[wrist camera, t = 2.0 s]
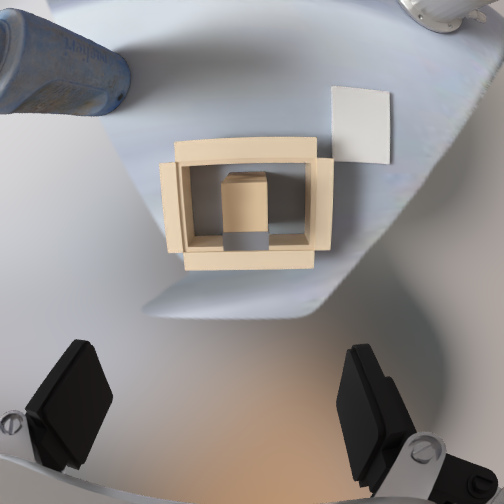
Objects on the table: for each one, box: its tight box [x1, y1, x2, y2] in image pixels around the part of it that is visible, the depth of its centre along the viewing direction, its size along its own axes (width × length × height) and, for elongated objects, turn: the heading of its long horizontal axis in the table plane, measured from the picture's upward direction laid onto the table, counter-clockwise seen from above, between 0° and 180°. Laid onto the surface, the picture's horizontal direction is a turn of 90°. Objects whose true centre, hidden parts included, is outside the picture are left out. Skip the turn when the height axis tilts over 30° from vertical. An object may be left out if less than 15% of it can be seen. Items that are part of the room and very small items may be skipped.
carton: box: [159, 137, 334, 270], centre depth 38 cm, size 20×16×5 cm
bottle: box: [0, 8, 130, 116], centre depth 20 cm, size 10×10×30 cm
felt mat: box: [331, 86, 390, 164], centre depth 36 cm, size 8×10×1 cm
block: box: [221, 172, 269, 251], centre depth 35 cm, size 5×7×10 cm
